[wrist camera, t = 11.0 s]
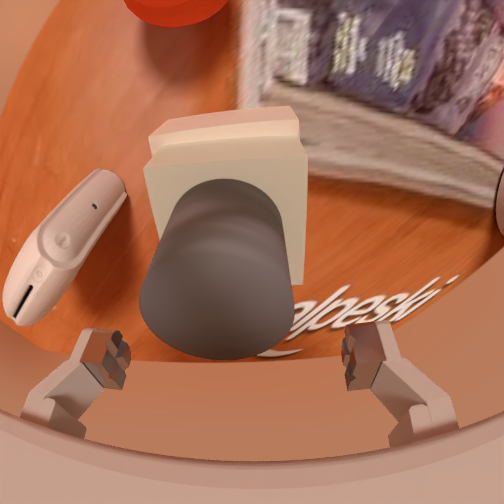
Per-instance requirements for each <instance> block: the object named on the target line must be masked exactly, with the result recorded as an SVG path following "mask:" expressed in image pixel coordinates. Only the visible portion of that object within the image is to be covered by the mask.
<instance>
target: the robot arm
mask: <svg viewBox="0 0 504 504" xmlns="http://www.w3.org/2000/svg"><path fill="white" fill-rule="evenodd" d="M496 219H497V224H498V228H499V230H500V232H501V234H502V235H503V236H504V173H503V175H502V178H501V182H500V185H499V189H498V194H497V201H496ZM344 333H345V338H344V339H342V345H341V354H342V362H343V365H344V366H345V367H346V368H347V369H346V372H345V379H346V385H347V390H348V391H351V390H361V389H369V388H371V391H372V392H373V393H374V394H375V395H376V397H377V398H378V399H379V400H380V401H381V402H382V403H383V405H384V406H385V407H386V408H387V409H388V410H389V412H390V413H391V414H392V415H393V416H394V417H395V418H396V419H397V421H398V422H399V423H398V424H397V426H396V427H395V428H394V429H393V430H392V432H391V433H390V434H389V435H388V438H389V444H390V448H385V449H380V450H375V451H369V452H363V453H357V454H350V455H343V456H335V457H326V458H317V459H306V460H290V461H220V460H204V459H193V458H183V457H174V456H166V455H159V454H153V453H146V452H140V451H135V450H129V449H124V448H120V447H115V446H110V445H106V444H102V443H98V442H93V441H90V440H86V439H84V437H85V432H86V427H85V426H84V425H83V424H82V423H81V422H79V421H78V419H79V417H80V416H81V415H82V414H83V413H84V412H85V411H86V410H87V408H88V407H89V406H90V405H91V404H92V403H93V401H94V400H95V399H96V398H97V397H98V396H99V394H100V393H101V392H102V391H103V390H104V388H108V389H118V390H122V388H123V385H124V381H125V378H126V374H125V372H124V371H125V369H126V368H128V367H129V365H130V361H131V351H130V348H129V346H128V344H127V343H126V342H124V341H123V340H122V337H123V336H122V334H121V333H120V331H115V330H103V329H91V328H85V329H84V330H83V331H82V332H81V334H80V337H79V339H78V341H77V343H76V345H75V348H74V350H73V352H72V355H71V357H70V359H69V361H67V360H66V361H65V362H64V363H63V364H61V365H60V366H59V367H58V368H57V369H55V370H54V371H53V372H52V373H51V374H50V375H48V376H47V377H46V378H45V379H44V380H43V381H42V382H40V383H39V384H38V385H37V386H36V387H35V388H33V389H32V390H31V391H30V393H29V395H28V397H27V400H26V403H25V405H24V408H23V410H22V413H21V416H20V417H18V416H15V415H12V414H10V413H8V412H6V411H3V410H1V409H0V504H504V411H503V412H501V413H499V414H496V415H494V416H492V417H489V418H487V419H484V420H481V421H479V422H476V423H473V424H471V425H468V426H465V427H462V428H459V426H458V423H457V419H456V415H455V412H454V409H453V405H452V402H451V399H450V396H449V395H448V394H447V393H445V392H444V391H443V390H442V389H441V388H440V387H439V386H438V385H436V384H435V383H434V382H433V381H432V380H431V379H429V378H428V377H427V376H426V375H425V374H424V373H423V372H421V371H420V370H419V369H418V368H417V367H415V366H414V365H413V364H412V363H411V362H410V361H409V360H407V359H406V358H401V355H400V352H399V349H398V346H397V343H396V340H395V337H394V334H393V331H392V328H391V325H390V322H389V321H388V320H385V321H377V322H366V323H357V324H348V325H346V326H345V330H344Z"/></svg>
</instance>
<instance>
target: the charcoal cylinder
mask: <svg viewBox="0 0 504 504" xmlns="http://www.w3.org/2000/svg"><path fill="white" fill-rule="evenodd" d="M139 307H140V311H141V314H142V317H143V319H144V321H145V322H146V324H147V326H148V327H149V328H150V330H151V331H152V332H153V333H154V334H155V335H156V336H157V337H158V338H160V339H161V340H162V341H163V342H165V343H166V344H168V345H170V346H171V347H173V348H175V349H177V350H179V351H182V352H184V353H186V354H190V355H193V356H196V357H201V358H206V359H214V360H235V359H242V358H247V357H251V356H255V355H257V354H260V353H263V352H265V351H267V350H269V349H270V348H272V347H274V346H275V345H277V344H278V343H279V342H280V341H281V340H282V339H283V338H284V337H285V336H286V335H287V333H288V332H289V331H290V328H291V326H292V324H293V321H294V315H295V309H294V301H293V293H292V286H291V278H290V271H289V264H288V257H287V250H286V244H285V237H284V230H283V224H282V218H281V215H280V212H279V210H278V208H277V206H276V205H275V203H274V202H273V200H272V199H271V198H270V197H269V196H268V195H267V194H266V193H265V192H263V191H262V190H261V189H259V188H257V187H256V186H254V185H252V184H249V183H247V182H244V181H241V180H235V179H225V178H224V179H213V180H208V181H205V182H202V183H200V184H198V185H196V186H194V187H192V188H191V189H189V190H188V191H187V192H185V193H184V194H183V195H182V196H181V198H180V199H179V200H178V202H177V203H176V205H175V207H174V209H173V211H172V214H171V216H170V218H169V221H168V223H167V225H166V228H165V230H164V232H163V235H162V237H161V239H160V242H159V244H158V247H157V249H156V252H155V254H154V257H153V259H152V262H151V264H150V267H149V269H148V272H147V274H146V277H145V280H144V282H143V285H142V288H141V291H140V295H139Z"/></svg>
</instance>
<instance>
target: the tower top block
mask: <svg viewBox="0 0 504 504" xmlns="http://www.w3.org/2000/svg"><path fill="white" fill-rule="evenodd" d="M143 172H144V177H145V181H146V186H147V190H148V194H149V199H150V203H151V207H152V211H153V215H154V219H155V223H156V227H157V231H158V235H159V239H161V237H162V235H163V232H164V230H165V228H166V225H167V223H168V221H169V218H170V216H171V214H172V211H173V209H174V207H175V205H176V203H177V202H178V200H179V199H180V198H181V196H182V195H183V194H184V193H185V192H187V191H188V190H189V189H191V188H192V187H194V186H196V185H198V184H200V183H202V182H205V181H208V180H213V179H224V178H225V179H235V180H241V181H244V182H247V183H249V184H252V185H254V186H256V187H257V188H259V189H261V190H262V191H263V192H265V193H266V194H267V195H268V196H269V197H270V198H271V199H272V200H273V202H274V203H275V205H276V206H277V208H278V210H279V212H280V215H281V218H282V224H283V230H284V237H285V244H286V250H287V257H288V264H289V271H290V278H291V285H301V284H303V273H304V256H305V236H306V211H307V176H308V156H307V154H306V152H305V150H304V148H303V146H302V144H301V142H300V140H299V138H298V136H297V135H283V136H257V137H239V138H225V139H213V140H202V141H193V142H183V143H175V144H167V145H163V146H162V147H161V148H160V149H159V150H158V152H157V153H156V154H155V155H154V156H153V157H152V158H151V160H150V161H149V162H148V163H147V164H146V166H145V167H144V168H143Z"/></svg>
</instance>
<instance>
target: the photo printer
mask: <svg viewBox="0 0 504 504" xmlns="http://www.w3.org/2000/svg"><path fill="white" fill-rule="evenodd" d="M126 196H127V193H126V192H125V187H124V184H123V182H122V180H121V179H120V178H119V177H118V176H117V175H116V174H115V173H113V172H111V171H109V170H101V169H100V168H98V169H96V170H95V171H93V172H92V173H91V174H89V175H88V176H87V177H86V178H85V179H84V180H83V181H81V182H80V183H79V184H78V185H77V186H76V187H75V188H74V189H73V190H72V191H71V192H70V193H69V194H68V195H67V196H66V197H65V198H64V199H63V200H62V201H61V202H60V203H59V204H58V205H57V206H56V207H55V208H54V209H53V210H52V211H51V212H50V213H49V214H48V216H47V217H46V218H45V219H44V220H43V221H42V222H41V223H40V224H39V225H38V227H37V228H36V229H35V230H34V231H33V232H32V233H31V235H30V236H29V237H28V239H27V240H26V242H25V243H24V245H23V247H22V248H21V250H20V252H19V254H18V255H17V257H16V259H15V261H14V263H13V265H12V267H11V269H10V272H9V274H8V277H7V279H6V282H5V285H4V290H3V306H4V310H5V313H6V315H7V316H8V317H9V318H11V319H13V320H14V321H15V323H16V324H17V325H19V326H30V325H33V324H35V323H37V322H39V321H41V320H42V319H43V318H44V317H45V316H46V315H47V314H48V313H49V312H50V310H51V309H52V308H53V307H54V306H55V305H56V303H57V302H58V301H59V299H60V298H61V297H62V296H63V294H64V293H65V291H66V290H67V289H68V287H69V286H70V284H71V283H72V281H73V280H74V278H75V277H76V275H77V273H78V271H79V269H80V268H81V266H82V265H83V263H84V261H85V260H86V258H87V256H88V255H89V253H90V252H91V250H92V249H93V247H94V245H95V244H96V242H97V241H98V239H99V238H100V236H101V235H102V233H103V232H104V230H105V229H106V227H107V226H108V224H109V223H110V222H111V220H112V219H113V218H114V216H115V214H116V213H117V212H118V210H119V209H120V207H121V206H122V204H123V202H124V201H125V199H126Z"/></svg>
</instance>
